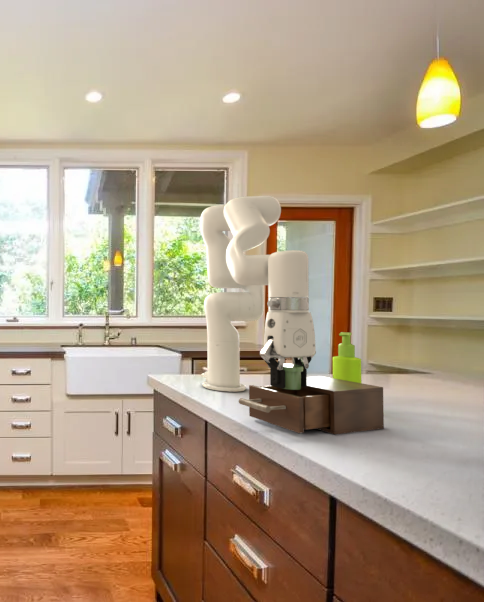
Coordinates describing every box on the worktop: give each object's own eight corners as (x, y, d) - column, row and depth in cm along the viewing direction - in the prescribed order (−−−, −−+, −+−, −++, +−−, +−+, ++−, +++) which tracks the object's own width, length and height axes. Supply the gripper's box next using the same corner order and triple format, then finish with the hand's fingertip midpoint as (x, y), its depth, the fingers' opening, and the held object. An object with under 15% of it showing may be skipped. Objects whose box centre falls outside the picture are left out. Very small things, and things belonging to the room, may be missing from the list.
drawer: (277, 436, 74) (277, 399, 74) (229, 418, 86) (229, 386, 86) (347, 427, 79) (347, 393, 79) (293, 411, 91) (292, 382, 91)
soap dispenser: (330, 407, 98) (329, 332, 98) (335, 402, 103) (334, 331, 103) (359, 412, 94) (358, 333, 94) (363, 406, 98) (362, 332, 98)
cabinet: (334, 434, 77) (334, 391, 77) (276, 416, 90) (275, 379, 90) (383, 428, 81) (383, 387, 81) (321, 411, 94) (320, 375, 94)
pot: (268, 385, 85) (268, 364, 85) (286, 384, 86) (286, 363, 86) (290, 391, 80) (290, 368, 80) (309, 389, 81) (309, 366, 81)
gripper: (272, 306, 77) (273, 392, 77) (333, 305, 82) (334, 387, 82) (243, 306, 84) (244, 385, 84) (301, 305, 89) (301, 380, 89)
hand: (288, 385), depth 83 cm, fingers closed on pot, 5 cm apart
